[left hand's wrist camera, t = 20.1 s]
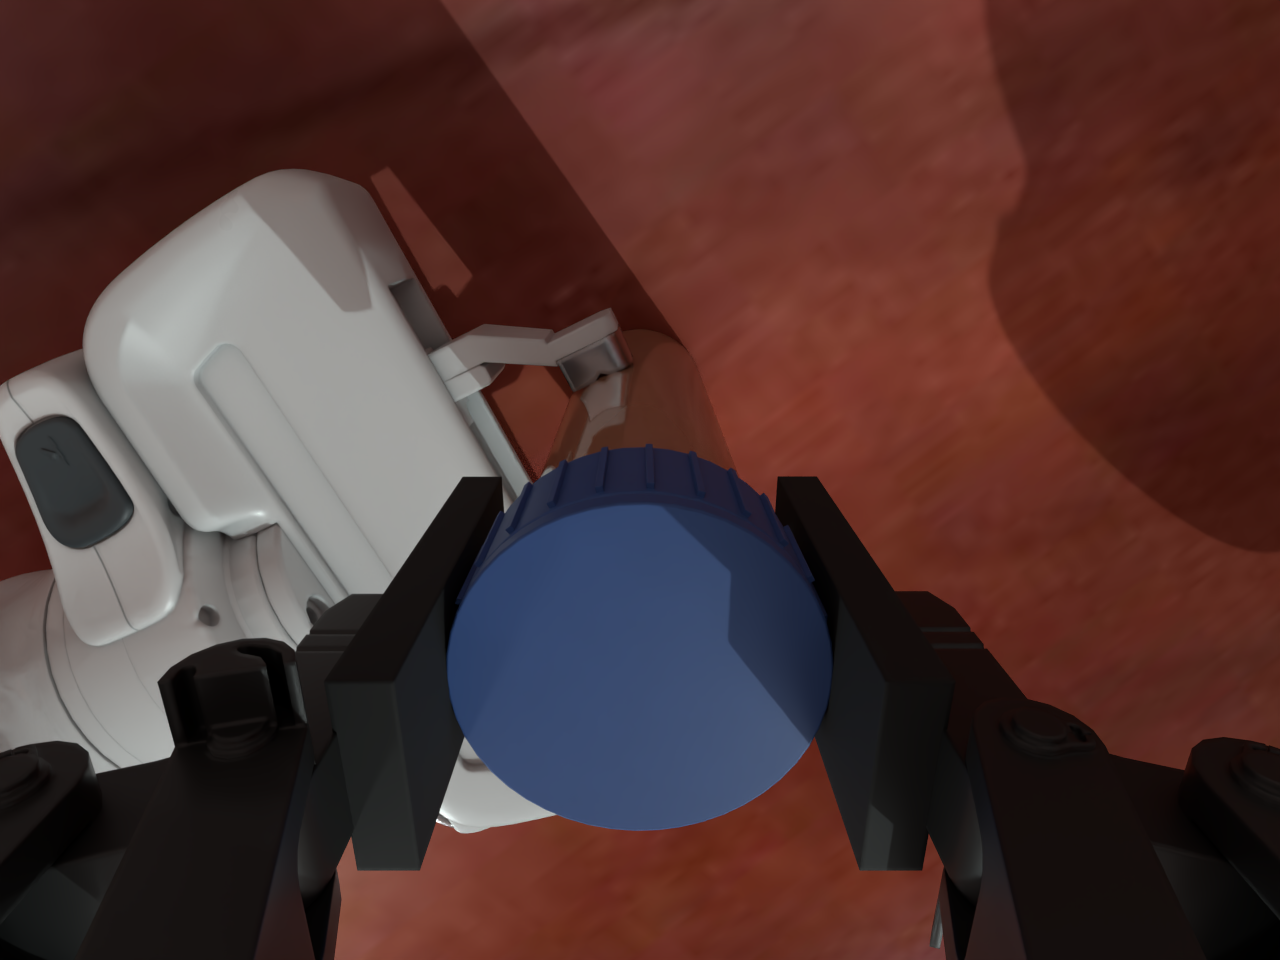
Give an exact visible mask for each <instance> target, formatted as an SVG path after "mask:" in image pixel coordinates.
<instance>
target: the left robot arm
mask: <svg viewBox="0 0 1280 960" xmlns="http://www.w3.org/2000/svg"><path fill="white" fill-rule="evenodd" d="M500 511H502V512H504V501H503V487H502V477H462V478H461V480H460V481H459V483H458V484H457V486H456V487H455V489H454V490H453V492H452V493H451V495H450V496H449V498H448V499H447V501H446V502H445V504H444V505H443V506H442V508H441V509H440V511H439V512H438V514H437V515H436V517H435V518H434V520H433V521H432V523H431V524H430V526H429V527H428V529H427V530H426V531H425V533H424V534H423V536H422V537H421V539H420V540H419V542H418V543H417V545H416V546H415V548H414V549H413V551H412V552H411V554H410V555H409V557H408V558H407V559H406V561H405V562H404V564H403V565H402V567H401V568H400V570H399V571H398V573H397V574H396V576H395V577H394V579H393V580H392V582H391V583H390V585H389V586H388V587H387V589H386V590H385V592H384V593H383V594H351V595H349V596H348V597H346V598H345V599H343V600H341V601H340V602H338V603H337V604H335V605H334V606H332V607H330V608H329V609H327V610H326V611H325V612H324V613H323V614H322V616H321V617H320V618H319V619H318V621H317V622H316V623H315V624H314V626H313V627H312V628H311V629H310V633H309V634H306V636H305V637H304V638H303V639H302V641H301V642H300V643H299V644H298V646H297V647H296V651H295V650H294V649H293V648H291V647H290V646H289V645H288V644H286V643H285V642H283V641H279V640H274V639H269V638H246V639H238V640H234V641H229V642H225V643H220V644H216V645H214V646H211V647H209V648H206V649H203V650H201V651H198V652H196V653H193V654H191V655H189V656H188V657H186V658H185V659H183V660H181V661H180V662H178V663H177V664H175V665H173V666H172V667H170V668H169V670H168V671H167V672H166V673H165V674H164V675H163V676H162V677H161V678H160V679H159V681H158V682H157V683H158V687H159V690H160V694H161V698H162V701H163V705H164V709H165V712H166V716H167V720H168V723H169V727H170V731H171V734H172V738H173V742H174V745H175V748H174V750H173V752H172V754H171V756H170V757H168V758H165V759H161V760H158V761H153V762H149V763H144V764H139V765H134V766H130V767H125V768H120V769H115V770H111V771H106V772H101V773H95V770H94V767H93V764H92V761H91V758H90V755H89V752H88V751H87V750H85V749H84V748H83V747H82V746H80V745H79V744H78V743H72V742H64V741H50V742H42V743H35V744H28V745H24V746H20V747H16V748H15V749H13V750H12V749H10V750H7V751H4V752H1V753H0V960H334V955H335V947H336V939H337V931H338V923H339V915H340V907H341V892H340V885H339V879H338V874H337V869H336V867H337V865H338V863H339V861H340V859H341V857H342V855H343V852H344V850H345V848H346V846H347V844H348V842H349V840H350V837H352V843H353V848H354V854H355V859H356V865H357V870H420V868H421V865H422V862H423V859H424V856H425V853H426V850H427V847H428V844H429V841H430V838H431V835H432V832H433V829H434V826H435V824H436V821H437V818H438V815H439V812H440V809H441V806H442V803H443V800H444V797H445V794H446V791H447V788H448V785H449V782H450V779H451V776H452V773H453V770H454V767H455V764H456V761H457V758H458V755H459V752H460V749H461V746H462V743H463V740H464V737H465V736H464V734H463V732H462V730H461V728H460V726H459V724H458V721H457V719H456V717H455V713H454V710H453V707H452V704H451V700H450V696H449V687H448V678H447V667H446V652H447V646H448V640H449V634H450V630H451V627H452V624H453V621H454V618H455V615H456V612H457V609H458V607H459V605H457V604H455V602H456V599H457V597H458V595H459V592H460V590H461V588H462V586H463V584H464V582H465V580H466V578H467V576H468V574H469V572H470V569H471V567H472V565H473V563H474V561H475V559H476V557H477V555H478V553H479V551H480V549H481V547H482V545H483V544H484V542H485V540H486V538H487V536H488V534H489V532H490V530H491V528H492V525H493V523H494V521H495V519H496V517H497V515H498V514H499V512H500ZM775 514H776V516H777V517H778V519H779V521H780V522H781V524H782V525H783V527H784V526H786V525H788V526H789V528H790V529H791V531H792V534H793V536H794V538H795V540H796V542H797V544H798V546H799V548H800V550H801V552H802V554H803V556H804V559H805V561H806V563H807V565H808V567H809V569H810V571H811V573H812V575H813V577H814V579H815V581H813V582H812V583H813V585H814V587H815V589H816V592H817V594H818V596H819V598H820V600H821V602H822V604H823V607H824V609H825V611H826V613H827V615H828V618H827V625H828V629H829V633H830V637H831V641H832V650H833V673H832V683H831V692H830V698H829V702H828V707H827V709H826V712H825V715H824V717H823V720H822V722H821V725H820V728H819V729H818V731H817V733H816V735H815V739H816V741H817V744H818V747H819V750H820V753H821V756H822V759H823V762H824V765H825V768H826V771H827V774H828V777H829V780H830V783H831V786H832V789H833V792H834V795H835V798H836V801H837V804H838V807H839V810H840V813H841V816H842V819H843V822H844V825H845V828H846V831H847V834H848V837H849V840H850V843H851V846H852V849H853V852H854V855H855V858H856V861H857V864H858V867H859V870H922V868H923V862H924V857H925V851H926V846H927V840H928V834H929V835H930V837H931V839H932V841H933V843H934V845H935V848H936V850H937V852H938V854H939V856H940V858H941V860H942V863H943V865H944V869H943V874H942V879H941V884H940V890H939V895H938V900H937V905H936V910H935V916H934V921H933V926H932V932H931V939H930V947H934V948H938V949H940V944H941V939H942V934H943V937H944V945H945V953H946V960H1280V749H1278V748H1275V747H1272V746H1270V745H1269V746H1266V745H1265V744H1262V743H1258V742H1254V741H1249V740H1241V739H1234V738H1226V737H1221V738H1213V739H1205V740H1202V741H1201V742H1200V743H1198V744H1197V745H1196V746H1195V747H1193V748H1192V750H1191V753H1190V756H1189V759H1188V762H1187V765H1186V768H1185V770H1180V769H1176V768H1171V767H1166V766H1161V765H1156V764H1152V763H1147V762H1142V761H1137V760H1132V759H1128V758H1123V757H1120V756H1116V755H1112V754H1109V753H1108V751H1107V748H1106V746H1105V745H1104V744H1103V742H1102V741H1101V740H1100V738H1099V737H1098V736H1097V735H1096V733H1095V732H1094V731H1093V730H1092V729H1091V728H1090V727H1088V726H1087V725H1086V724H1084V723H1083V722H1081V721H1080V720H1079V719H1077V718H1076V717H1075V716H1073V715H1071V714H1069V713H1067V712H1064V711H1062V710H1060V709H1058V708H1056V707H1053V706H1051V705H1049V704H1045V703H1041V702H1037V701H1033V700H1029V699H1027V698H1026V697H1025V695H1024V694H1023V693H1022V692H1021V690H1020V689H1019V688H1018V687H1017V685H1016V684H1015V683H1014V682H1013V680H1012V679H1011V678H1010V677H1009V675H1008V674H1007V673H1006V672H1005V670H1004V669H1003V668H1002V667H1001V666H1000V664H999V663H998V662H997V661H996V659H995V658H994V657H993V656H992V654H991V653H990V652H989V651H988V649H984V644H983V643H982V642H981V641H980V639H979V638H978V637H977V636H976V634H975V633H974V632H971V631H970V627H969V626H968V624H967V623H966V622H965V621H964V619H963V618H962V617H961V616H960V614H959V613H958V612H957V611H956V609H955V608H953V607H952V606H950V605H949V604H947V603H945V602H944V601H942V600H941V599H939V598H938V597H936V596H934V595H933V594H931V593H930V592H928V591H894V590H893V588H892V587H891V585H890V584H889V582H888V581H887V579H886V578H885V576H884V575H883V573H882V572H881V571H880V569H879V568H878V566H877V565H876V563H875V562H874V560H873V559H872V557H871V556H870V554H869V553H868V551H867V550H866V548H865V547H864V545H863V544H862V543H861V541H860V540H859V538H858V537H857V535H856V534H855V532H854V531H853V529H852V528H851V526H850V525H849V523H848V522H847V520H846V519H845V517H844V516H843V515H842V513H841V512H840V510H839V509H838V507H837V506H836V504H835V503H834V501H833V500H832V498H831V497H830V495H829V494H828V492H827V491H826V489H825V488H824V487H823V485H822V484H821V482H820V481H819V479H818V478H817V477H778V480H777V495H776V509H775Z"/></svg>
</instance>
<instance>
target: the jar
mask: <svg viewBox="0 0 1280 960" xmlns="http://www.w3.org/2000/svg"><path fill="white" fill-rule="evenodd" d="M623 334H624V336H625V338H626V341H627V343H628V345H629V347H630V349H631V351H632V354H633V357H632V358H633V362H632V363H631V364H630V365H628V366H627V367H625V368H624V369H622V370H620V371H618V372H616V373H612V374H610V375H608V374H601V373H600V375H599V376H598V378H597V380H596V381H595V382H593V383H592V384H590V385H588V386H586V387H584V388H582V389H580V390H578V391H576V392H572V395H571V398H570V400H569V403H568V405H567V408H566V411H565V413H564V416H563V419H562V421H561V424H560V426H559V429H558V432H557V434H556V437H555V440H554V442H553V445H552V447H551V450H550V453H549V455H548V458H547V460H546V463H545V466H544V468H543V471H542V474H541V476H540V478H541V477H542V476H544V475H546V474H547V473H549V472H551V471H552V470H554V469H556V468H557V467H558V466H559V463H560V461H562V460H565V459H566V461H567V462H570V461H573V460H575V459H577V458H580V457H583V456H586V455H590V454H593V453H597V452H600V451H601V448H602V447H607V446H608V449H609V450H612V449H619V448H633V447H646V444H653V448H660V449H669V450H673V451H678V452H682V453H687V454H689V452H690V451H693V452H696V454H697V457H699V458H702V459H705V460H707V461H710V462H712V463H714V464H716V465H718V466H720V467H722V468H724V469H726V470H729V468H732V469H734V470H735V471H736V473H737V470H736V467H735V465H734V462H733V460H732V457H731V454H730V452H729V449H728V446H727V444H726V441H725V439H724V436H723V433H722V431H721V428H720V425H719V423H718V420H717V418H716V415H715V412H714V410H713V407H712V404H711V402H710V399H709V397H708V394H707V391H706V389H705V386H704V383H703V381H702V378H701V376H700V373H699V370H698V368H697V365H696V363H695V361H694V360H693V358H692V356H691V355H690V354H689V352H688V351H687V350H686V349H685V348H684V347H683V346H682V345H681V344H680V343H678V342H677V341H676V340H674V339H673V338H671V337H669V336H667V335H665V334H663V333H660V332H656V331H653V330H646V329H634V330H627V331H623ZM737 476H738V478H739V475H738V473H737Z"/></svg>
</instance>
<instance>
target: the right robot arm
mask: <svg viewBox="0 0 1280 960" xmlns="http://www.w3.org/2000/svg"><path fill="white" fill-rule="evenodd" d="M632 357H633V354H632V351H631V349H630V347H629V345H628V343H627V341H626V338H625V336H624V334H623V332H622V330H621V327H620V325H619V324H618V321H617V319H616V317H615V315H614V313H613V311H612V309H611V308H608V309H605V310H602V311H600V312H598V313H595V314H593V315H591V316H589V317H587V318H585V319H583V320H581V321H579V322H577V323H575V324H573V325H571V326H569V327H567V328H565V329H563V330H561V331H559V332H557V333H554V332H553V330H552V329H540V328H528V327H516V326H505V325H493V324H483V325H481V326H479V327H477V328H475V329H473V330H471V331H469V332H467V333H465V334H463V335H461V336H459V337H457V338H455V339H453V340H452V339H451V337H450V335H449V333H448V331H447V330H446V328H445V326H444V324H443V323H442V321H441V319H440V317H439V316H438V314H437V312H436V310H435V308H434V307H433V305H432V303H431V301H430V300H429V298H428V296H427V294H426V292H425V291H424V289H423V287H422V285H421V284H420V282H419V280H418V278H417V276H416V275H415V273H414V271H413V269H412V268H411V266H410V264H409V262H408V261H407V259H406V257H405V255H404V253H403V252H402V250H401V248H400V246H399V245H398V243H397V241H396V239H395V238H394V236H393V234H392V232H391V230H390V229H389V227H388V225H387V223H386V222H385V220H384V218H383V216H382V214H381V213H380V211H379V209H378V207H377V205H376V203H375V202H374V200H373V199H372V197H371V195H370V194H369V193H368V192H367V190H366V189H365V188H363V187H362V186H360V185H359V184H356V183H354V182H351V181H348V180H345V179H342V178H339V177H336V176H333V175H329V174H325V173H321V172H317V171H311V170H305V169H281V170H276V171H272V172H268V173H265V174H263V175H260V176H258V177H255V178H254V179H252V180H250V181H248V182H246V183H245V184H243V185H241V186H239V187H237V188H236V189H234V190H232V191H231V192H229V193H228V194H226V195H224V196H223V197H221V198H220V199H218V200H216V201H215V202H213V203H212V204H210V205H209V206H207V207H206V208H204V209H203V210H201V211H200V212H198V213H197V214H195V215H194V216H192V217H191V218H190V219H188V220H187V221H185V222H184V223H183V224H181V225H180V226H179V227H177V228H176V229H174V230H173V231H172V232H170V233H169V234H168V235H166V236H165V237H164V238H163V239H161V240H160V241H159V242H157V243H156V244H155V245H153V246H152V247H151V248H150V249H148V250H147V251H146V252H145V253H144V254H142V255H141V256H140V257H139V258H138V259H136V260H135V261H134V262H133V263H132V264H131V265H129V266H128V267H127V268H126V269H125V270H123V271H122V272H121V273H120V274H119V275H118V276H117V277H116V278H115V279H114V280H113V281H112V282H111V283H110V284H109V285H108V286H107V287H106V288H105V289H104V291H103V292H102V293H101V294H100V296H99V297H98V299H97V300H96V302H95V303H94V305H93V307H92V309H91V311H90V313H89V315H88V317H87V320H86V324H85V328H84V333H83V348H82V349H79V350H77V351H74V352H71V353H68V354H66V355H63V356H60V357H57V358H55V359H52V360H50V361H47V362H45V363H43V364H41V365H38V366H36V367H34V368H32V369H29V370H27V371H25V372H23V373H21V374H19V375H17V376H15V377H13V378H11V379H9V380H8V381H6V382H4V383H3V384H2V385H1V386H0V439H1V441H2V444H3V446H4V448H5V450H6V452H7V455H8V457H9V459H10V461H11V463H12V465H13V468H14V470H15V472H16V474H17V477H18V479H19V481H20V483H21V486H22V488H23V490H24V493H25V495H26V497H27V500H28V502H29V505H30V507H31V510H32V512H33V514H34V517H35V519H36V522H37V525H38V528H39V530H40V533H41V536H42V538H43V541H44V544H45V547H46V550H47V553H48V557H49V560H50V563H51V566H52V569H49V570H41V571H36V572H31V573H26V574H22V575H18V576H14V577H11V578H8V579H5V580H2V581H0V753H1V752H4V751H7V750H10V749H12V750H13V749H15V748H16V747H20V746H24V745H28V744H35V743H42V742H50V741H64V742H72V743H78V744H79V745H80V746H82V747H83V748H84V749H85V750H87V751H88V752H89V755H90V758H91V761H92V764H93V767H94V770H95V773H101V772H106V771H111V770H115V769H120V768H125V767H130V766H134V765H139V764H144V763H149V762H153V761H158V760H161V759H165V758H168V757H170V756H171V754H172V752H173V750H174V748H175V745H174V742H173V738H172V734H171V731H170V727H169V723H168V720H167V716H166V712H165V709H164V705H163V701H162V698H161V694H160V690H159V687H158V683H157V682H158V681H159V679H160V678H161V677H162V676H163V675H164V674H165V673H166V672H167V671H168V670H169V668H170V667H172V666H173V665H175V664H177V663H178V662H180V661H181V660H183V659H185V658H186V657H188V656H189V655H191V654H193V653H196V652H198V651H201V650H203V649H206V648H209V647H211V646H214V645H216V644H220V643H225V642H229V641H234V640H238V639H246V638H269V639H274V640H279V641H283V642H285V643H286V644H288V645H289V646H290V647H291V648H293V649H294V650H295V651H296V647H297V646H298V644H299V643H300V642H301V641H302V639H303V638H304V637H305V636H306V634H309V633H310V629H311V628H312V627H313V626H314V624H315V623H316V622H317V621H318V619H319V618H320V617H321V616H322V614H323V613H324V612H325V611H326V610H327V609H329V608H330V607H332V606H334V605H335V604H337V603H338V602H340V601H341V600H343V599H345V598H346V597H348V596H349V595H351V594H383V593H384V592H385V590H386V589H387V587H388V586H389V585H390V583H391V582H392V580H393V579H394V577H395V576H396V574H397V573H398V571H399V570H400V568H401V567H402V565H403V564H404V562H405V561H406V559H407V558H408V557H409V555H410V554H411V552H412V551H413V549H414V548H415V546H416V545H417V543H418V542H419V540H420V539H421V537H422V536H423V534H424V533H425V531H426V530H427V529H428V527H429V526H430V524H431V523H432V521H433V520H434V518H435V517H436V515H437V514H438V512H439V511H440V509H441V508H442V506H443V505H444V504H445V502H446V501H447V499H448V498H449V496H450V495H451V493H452V492H453V490H454V489H455V487H456V486H457V484H458V483H459V481H460V480H461V478H462V477H502V487H503V501H504V513H505V512H506V511H507V510H508V508H509V507H510V505H511V504H512V503H513V502H514V501H515V500H516V499H517V498H518V497H519V496H520V494H521V492H522V490H523V487H524V485H525V484H526V483H527V482H530V483H531V484H533V482H532V481H531V479H530V477H529V475H528V473H527V472H526V470H525V468H524V466H523V465H522V463H521V461H520V459H519V457H518V456H517V454H516V452H515V450H514V449H513V447H512V445H511V443H510V441H509V440H508V438H507V436H506V434H505V433H504V431H503V429H502V427H501V426H500V424H499V422H498V420H497V418H496V417H495V415H494V413H493V411H492V410H491V408H490V406H489V404H488V402H487V401H486V399H485V397H484V395H483V394H482V392H481V390H480V389H482V388H484V387H486V386H488V385H490V384H491V383H492V382H493V381H494V380H495V378H496V377H497V376H498V375H499V374H500V373H501V372H502V370H503V369H504V367H505V363H506V364H524V365H541V366H558V365H559V367H560V369H561V371H562V372H563V374H564V376H565V378H566V380H567V382H568V383H569V385H570V387H571V389H572V391H573V392H576V391H578V390H580V389H582V388H584V387H586V386H588V385H590V384H592V383H593V382H595V381H596V380H597V378H598V376H599V375H600V373H601V374H608V375H610V374H612V373H616V372H618V371H620V370H622V369H624V368H625V367H627V366H628V365H630V364H631V363H632V362H633V358H632ZM553 815H557V814H554V813H552V812H549V811H547V810H545V809H543V808H541V807H539V806H537V805H536V804H534V803H532V802H530V801H528V800H526V799H525V798H523V797H522V796H520V795H519V794H518V793H516V792H515V791H513V790H512V789H510V788H509V787H508V786H506V785H505V784H504V783H503V782H502V781H501V780H500V779H499V778H498V777H496V776H495V775H494V774H493V773H492V772H491V771H490V770H489V769H488V768H487V766H486V765H485V764H484V763H483V762H482V761H481V759H480V758H479V757H478V756H477V755H476V753H475V752H474V750H473V749H472V747H471V746H470V744H469V743H468V741H467V740H466V738H465V737H464V740H463V743H462V746H461V749H460V752H459V755H458V758H457V761H456V764H455V767H454V770H453V773H452V776H451V779H450V782H449V785H448V788H447V791H446V794H445V797H444V800H443V803H442V806H441V809H440V812H439V815H438V818H437V822H439V823H441V824H443V825H446V826H449V827H452V828H455V830H456V831H458V832H460V833H474V832H478V831H482V830H484V829H487V828H489V827H497V826H504V825H510V824H516V823H521V822H526V821H531V820H535V819H540V818H544V817H549V816H553Z"/></svg>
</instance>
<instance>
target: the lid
mask: <svg viewBox="0 0 1280 960" xmlns="http://www.w3.org/2000/svg"><path fill="white" fill-rule="evenodd" d="M813 581H815V579H814V577H813V575H812V573H811V571H810V569H809V567H808V565H807V563H806V561H805V559H804V556H803V554H802V552H801V550H800V548H799V546H798V544H797V542H796V540H795V538H794V536H793V534H792V531H791V529H790V528H789V526H788V525H786V526H784V527H783V525H782V524H781V522H780V521H779V519H778V517H777V516H776V514H775V512H774V510H773V508H772V505H771V503H770V501H769V499H768V497H767V496H766V495H765V494H764V493H763V494H762V495H759V494H758V493H757V492H756V491H754V490H753V489H752V488H751V487H750V486H749V485H748V484H747V483H745V482H744V481H743V480H741V479H740V478H738V476H737V473H736V471H735V470H734V469H732V468H729V470H726V469H724V468H722V467H720V466H718V465H716V464H714V463H712V462H710V461H707V460H705V459H702V458H699V457H697V454H696V452H693V451H690V452H689V454H687V453H682V452H678V451H673V450H669V449H660V448H653V444H646V447H633V448H619V449H612V450H609V449H608V446H607V447H602V448H601V451H600V452H597V453H593V454H590V455H586V456H583V457H580V458H577V459H575V460H573V461H570V462H567V461H566V459H565V460H562V461H560V463H559V466H558V467H557V468H556V469H554V470H552V471H551V472H549V473H547V474H546V475H544V476H542V477H541V478H539V479H538V480H537V481H536V482H534V483H533V484H531V483H530V482H527V483H526V484H525V485H524V487H523V490H522V492H521V494H520V496H519V497H518V498H517V499H516V500H515V501H514V502H513V503H512V504H511V505H510V507H509V508H508V510H507V511H506V512H505V513H504V512H502V511H500V512H499V514H498V515H497V517H496V519H495V521H494V523H493V525H492V528H491V530H490V532H489V534H488V536H487V538H486V540H485V542H484V544H483V545H482V547H481V549H480V551H479V553H478V555H477V557H476V559H475V561H474V563H473V565H472V567H471V569H470V572H469V574H468V576H467V578H466V580H465V582H464V584H463V586H462V588H461V590H460V592H459V595H458V597H457V599H456V602H455V604H457V605H459V607H458V609H457V612H456V615H455V618H454V621H453V624H452V627H451V630H450V634H449V640H448V646H447V652H446V667H447V678H448V687H449V696H450V700H451V704H452V707H453V710H454V713H455V717H456V719H457V721H458V724H459V726H460V728H461V730H462V732H463V734H464V736H465V738H466V740H467V741H468V743H469V744H470V746H471V747H472V749H473V750H474V752H475V753H476V755H477V756H478V757H479V758H480V759H481V761H482V762H483V763H484V764H485V765H486V766H487V768H488V769H489V770H490V771H491V772H492V773H493V774H494V775H495V776H496V777H498V778H499V779H500V780H501V781H502V782H503V783H504V784H505V785H506V786H508V787H509V788H510V789H512V790H513V791H515V792H516V793H518V794H519V795H520V796H522V797H523V798H525V799H526V800H528V801H530V802H532V803H534V804H536V805H537V806H539V807H541V808H543V809H545V810H547V811H549V812H552V813H554V814H557V815H559V816H562V817H564V818H567V819H570V820H574V821H577V822H581V823H584V824H588V825H593V826H598V827H604V828H609V829H620V830H634V831H636V830H661V829H669V828H676V827H682V826H687V825H691V824H695V823H699V822H703V821H706V820H709V819H712V818H715V817H718V816H721V815H723V814H726V813H728V812H730V811H732V810H734V809H736V808H738V807H740V806H743V805H745V804H746V803H748V802H749V801H751V800H753V799H754V798H756V797H757V796H759V795H761V794H762V793H764V792H765V791H766V790H768V789H769V788H770V787H771V786H773V785H774V784H775V783H776V782H778V781H779V780H780V779H781V778H782V777H783V776H784V775H785V774H786V773H787V772H788V771H789V770H790V769H791V768H792V767H793V766H794V765H795V764H796V763H797V761H798V760H799V759H800V758H801V756H802V755H803V754H804V752H805V751H806V750H807V748H808V747H809V745H810V744H811V742H812V740H813V738H814V736H815V735H816V733H817V731H818V729H819V728H820V725H821V722H822V720H823V717H824V715H825V712H826V709H827V707H828V702H829V698H830V692H831V683H832V673H833V650H832V641H831V637H830V633H829V629H828V625H827V618H828V615H827V613H826V611H825V609H824V607H823V604H822V602H821V600H820V598H819V596H818V594H817V592H816V589H815V587H814V585H813V583H812V582H813Z"/></svg>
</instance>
